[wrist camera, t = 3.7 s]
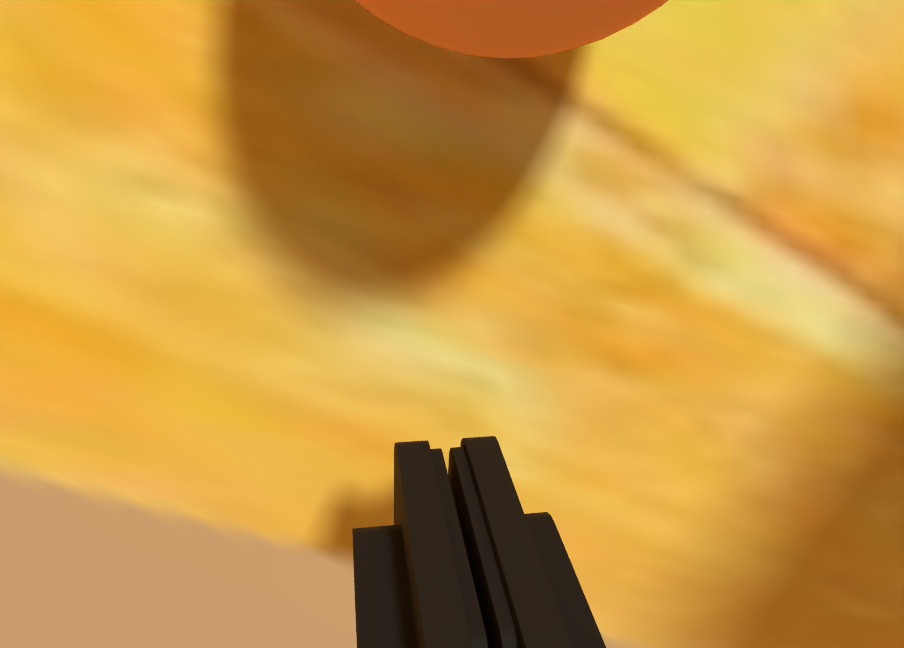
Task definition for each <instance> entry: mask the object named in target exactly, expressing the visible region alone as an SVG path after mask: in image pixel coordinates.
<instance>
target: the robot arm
mask: <svg viewBox="0 0 904 648" xmlns="http://www.w3.org/2000/svg"><path fill="white" fill-rule="evenodd" d="M353 557H354V583H355V610H356V632H357V648H606V646H605V644H604V641H603V639H602V637H601V634H600V632H599V629H598V627H597V624H596V622H595V620H594V617H593V615H592V612H591V610H590V607H589V605H588V603H587V600H586V598H585V595H584V593H583V591H582V588H581V586H580V583H579V581H578V578H577V576H576V574H575V571H574V569H573V566H572V564H571V561H570V559H569V557H568V554H567V552H566V549H565V547H564V544H563V542H562V540H561V537H560V535H559V532H558V530H557V528H556V525H555V523H554V521H553V519H552V517H551V515H550V514H549V513H547V512H542V513H530V514H524V512H523V509H522V507H521V504H520V501H519V498H518V496H517V493H516V490H515V487H514V485H513V482H512V479H511V476H510V474H509V471H508V468H507V465H506V463H505V460H504V457H503V454H502V452H501V449H500V446H499V443H498V441H497V439H496V437H495V436H489V437H474V438H463V439H462V440H461V446H460V447H456V448H450V452H449V468H448V473H447V469H446V465H445V461H444V457H443V453H442V450H441V449H430V446H429V442H428V441H413V442H398V443H395V447H394V525H391V526H379V527H368V528H356V529H353Z"/></svg>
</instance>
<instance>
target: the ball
mask: <svg viewBox="0 0 904 648" xmlns="http://www.w3.org/2000/svg"><path fill="white" fill-rule="evenodd" d="M355 1H357V2H358V3H359V4H360V5H362V6H363V7H364V8H366V9H367V10H368V11H370V12H371V13H372V14H373V15H375V16H376V17H378V18H379V19H381V20H383V21H385V22H386V23H388V24H390V25H391V26H393V27H395V28H397V29H398V30H400V31H402V32H404V33H405V34H408V35H410V36H413V37H415V38H418V39H420V40H422V41H425V42H427V43H430V44H432V45H435V46H437V47H440V48H444V49H448V50H452V51H456V52H460V53H464V54H468V55H474V56H484V57H493V58H524V57H536V56H542V55H547V54H553V53H558V52H564V51H567V50H570V49H573V48H576V47H579V46H582V45H585V44H588V43H591V42H594V41H598V40H601V39H603V38H605V37H607V36H610V35H612V34H614V33H616V32H618V31H620V30H622V29H624V28H626V27H628V26H630V25H632V24H634V23H636V22H637V21H639V20H640V19H642V18H643V17H645V16H646V15H648V14H649V13H651V12H653V11H654V10H656V9H657V8H659V7H660V6H662V5H663V4H664V3H665V2H667V1H668V0H355Z"/></svg>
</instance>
